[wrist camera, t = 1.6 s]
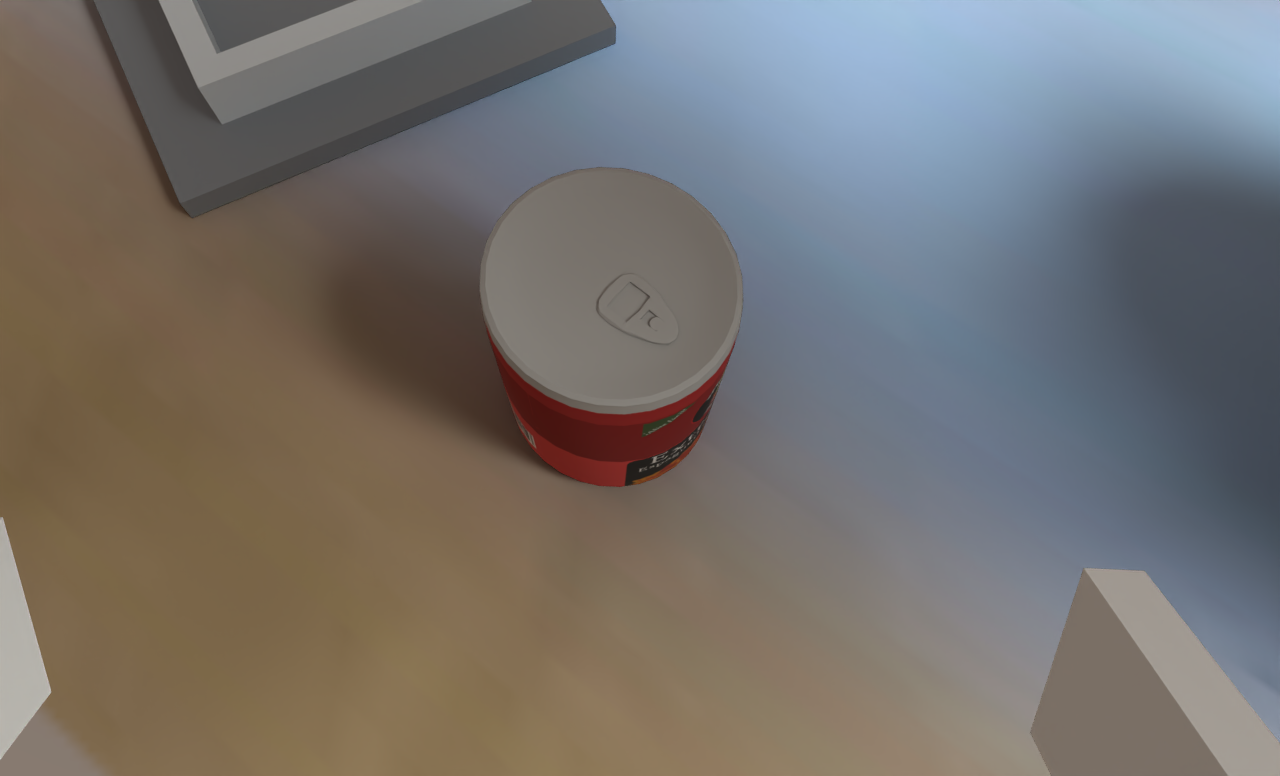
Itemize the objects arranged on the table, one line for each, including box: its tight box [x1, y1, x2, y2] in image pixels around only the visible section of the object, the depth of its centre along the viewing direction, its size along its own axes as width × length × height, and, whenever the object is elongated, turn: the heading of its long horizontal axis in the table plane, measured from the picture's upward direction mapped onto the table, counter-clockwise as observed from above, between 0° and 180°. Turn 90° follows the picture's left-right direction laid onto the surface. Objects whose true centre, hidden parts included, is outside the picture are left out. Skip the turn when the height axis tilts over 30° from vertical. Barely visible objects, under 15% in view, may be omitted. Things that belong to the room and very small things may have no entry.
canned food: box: [480, 167, 743, 487], centre depth 33 cm, size 8×8×11 cm
